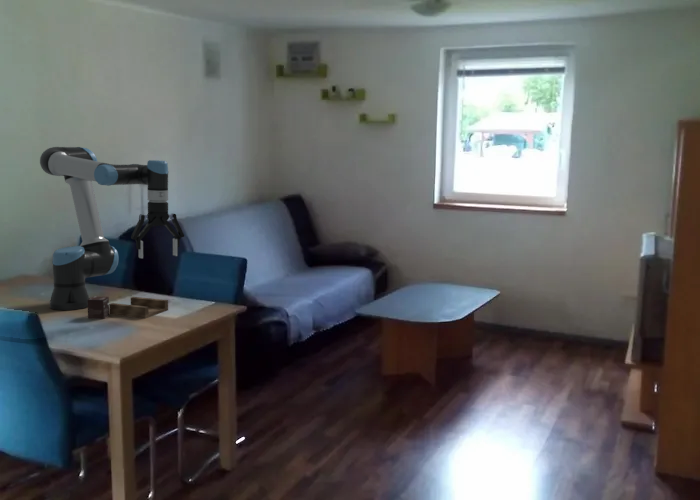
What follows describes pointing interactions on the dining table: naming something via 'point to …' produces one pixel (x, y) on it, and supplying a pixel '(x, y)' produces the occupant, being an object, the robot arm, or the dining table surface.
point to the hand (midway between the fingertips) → (158, 256)
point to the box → (98, 307)
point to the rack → (139, 307)
